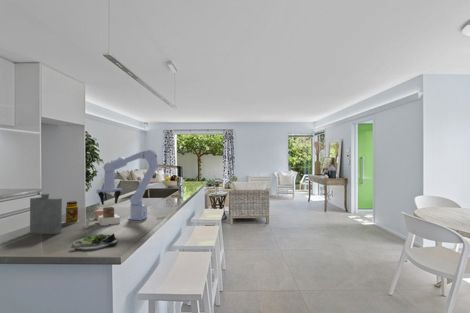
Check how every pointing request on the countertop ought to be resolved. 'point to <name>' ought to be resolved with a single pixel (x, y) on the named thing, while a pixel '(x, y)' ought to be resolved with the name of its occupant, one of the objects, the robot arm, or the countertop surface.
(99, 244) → the salad plate
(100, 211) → the terracotta block
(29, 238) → the countertop surface
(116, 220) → the base block
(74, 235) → the countertop surface
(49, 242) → the countertop surface
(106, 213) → the walnut cube
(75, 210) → the condiment
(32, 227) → the hip flask
